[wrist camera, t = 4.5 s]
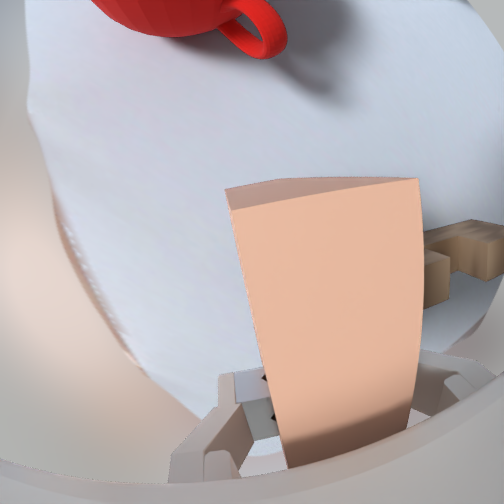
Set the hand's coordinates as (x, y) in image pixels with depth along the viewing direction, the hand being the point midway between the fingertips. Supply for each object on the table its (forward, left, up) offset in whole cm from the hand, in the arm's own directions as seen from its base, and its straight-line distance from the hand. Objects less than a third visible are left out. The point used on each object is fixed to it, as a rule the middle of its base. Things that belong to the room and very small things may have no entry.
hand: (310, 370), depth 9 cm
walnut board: (-13, +6, -13) cm, 19 cm away
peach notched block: (0, 0, -8) cm, 8 cm away
